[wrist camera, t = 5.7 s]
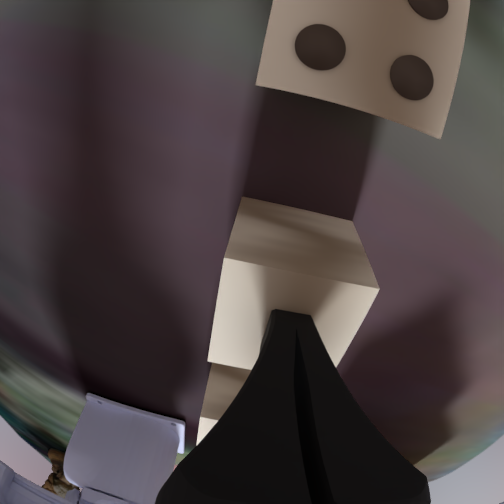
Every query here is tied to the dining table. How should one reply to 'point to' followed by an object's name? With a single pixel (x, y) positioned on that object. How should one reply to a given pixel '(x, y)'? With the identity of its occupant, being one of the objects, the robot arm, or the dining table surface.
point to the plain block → (289, 280)
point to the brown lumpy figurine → (58, 475)
